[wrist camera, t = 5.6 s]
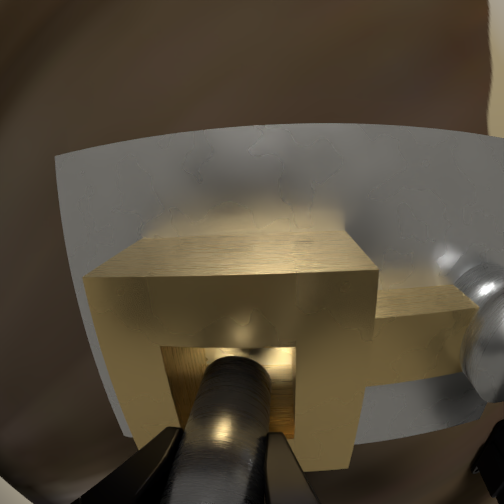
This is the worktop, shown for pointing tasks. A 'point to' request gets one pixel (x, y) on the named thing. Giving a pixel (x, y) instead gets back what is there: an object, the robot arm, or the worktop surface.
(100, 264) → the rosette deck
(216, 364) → the lever with copper knob
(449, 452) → the worktop surface
